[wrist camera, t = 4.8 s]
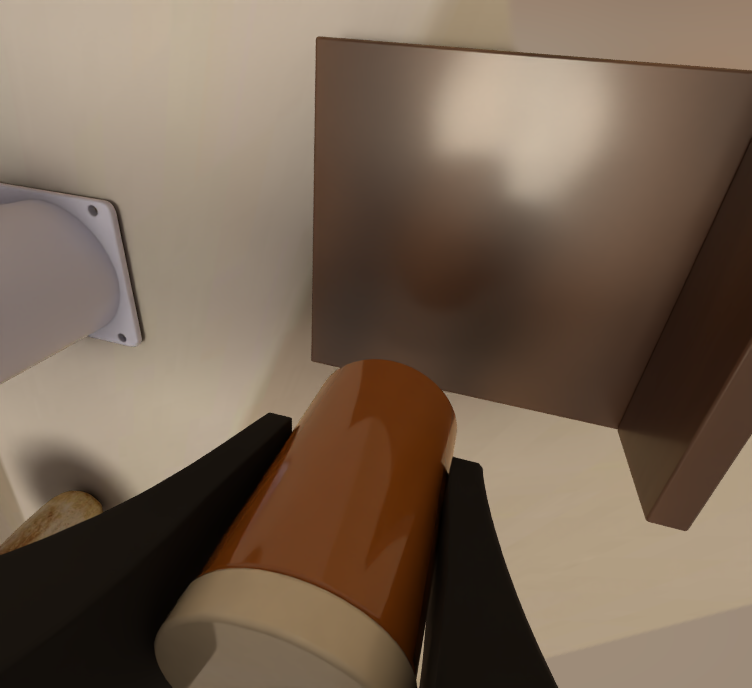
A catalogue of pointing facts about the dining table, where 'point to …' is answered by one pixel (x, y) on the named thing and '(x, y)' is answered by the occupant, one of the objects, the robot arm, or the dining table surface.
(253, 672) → the spice jar
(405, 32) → the dining table surface
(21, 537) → the decorative mushroom
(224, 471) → the robot arm
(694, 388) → the brown stepped block
